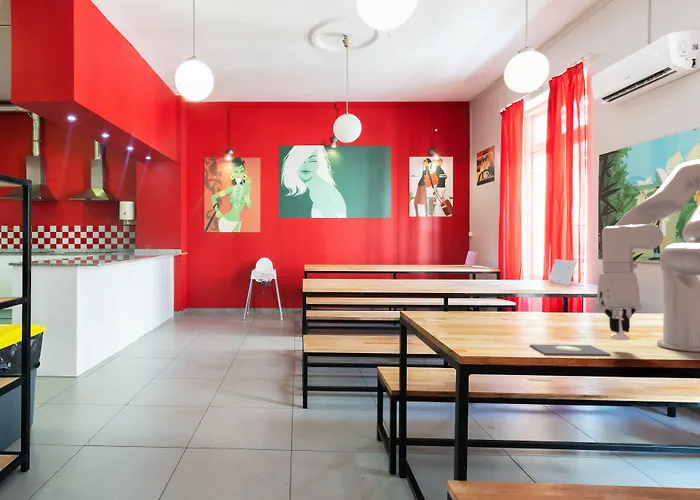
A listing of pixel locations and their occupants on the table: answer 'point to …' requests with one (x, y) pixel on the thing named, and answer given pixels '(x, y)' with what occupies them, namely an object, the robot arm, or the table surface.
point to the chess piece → (620, 328)
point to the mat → (569, 350)
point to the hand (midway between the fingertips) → (619, 330)
